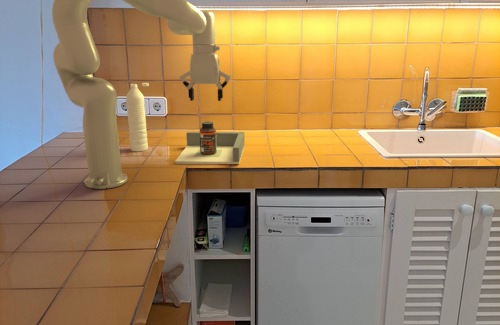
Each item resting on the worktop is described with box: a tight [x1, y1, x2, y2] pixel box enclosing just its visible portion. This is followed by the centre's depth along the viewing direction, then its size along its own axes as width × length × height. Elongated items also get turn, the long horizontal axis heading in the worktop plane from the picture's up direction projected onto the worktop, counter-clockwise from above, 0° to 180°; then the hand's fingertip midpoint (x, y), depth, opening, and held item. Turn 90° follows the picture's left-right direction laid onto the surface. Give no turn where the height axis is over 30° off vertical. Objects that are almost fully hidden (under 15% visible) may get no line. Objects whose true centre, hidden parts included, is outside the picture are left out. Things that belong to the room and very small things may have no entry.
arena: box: [174, 131, 245, 165], centre depth 164 cm, size 22×22×6 cm
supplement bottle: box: [199, 121, 217, 155], centre depth 161 cm, size 6×6×11 cm
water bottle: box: [125, 82, 150, 153], centre depth 169 cm, size 9×6×25 cm
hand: (205, 100), depth 157 cm, fingers open, 9 cm apart
